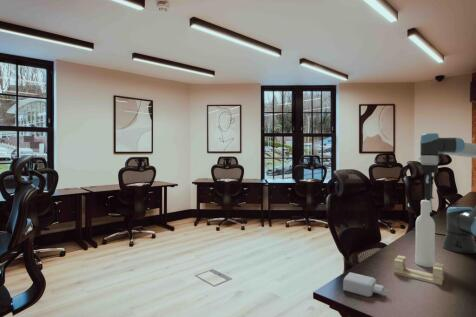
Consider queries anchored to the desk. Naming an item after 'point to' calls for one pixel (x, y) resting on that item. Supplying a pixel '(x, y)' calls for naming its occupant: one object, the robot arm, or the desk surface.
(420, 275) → the bottle rest
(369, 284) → the white flat bottle
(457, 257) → the desk surface
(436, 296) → the desk surface
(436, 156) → the robot arm
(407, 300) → the desk surface
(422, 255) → the bottle
